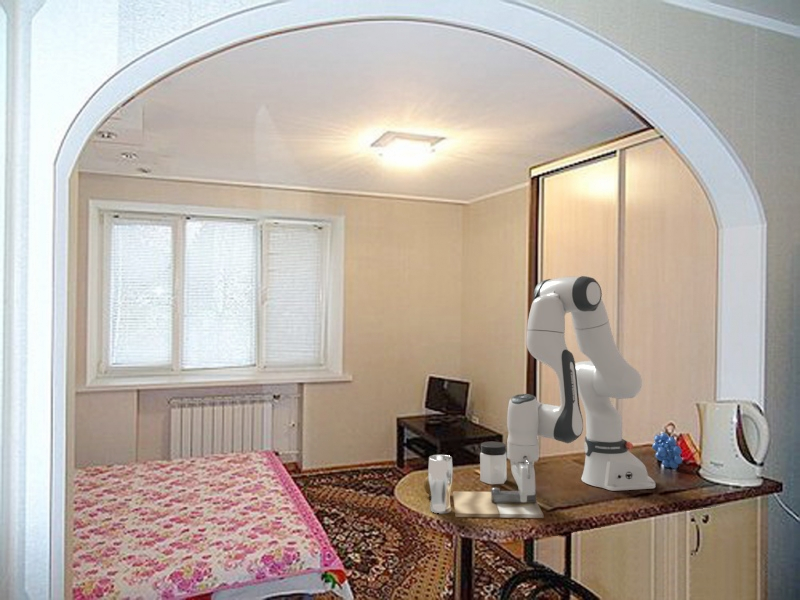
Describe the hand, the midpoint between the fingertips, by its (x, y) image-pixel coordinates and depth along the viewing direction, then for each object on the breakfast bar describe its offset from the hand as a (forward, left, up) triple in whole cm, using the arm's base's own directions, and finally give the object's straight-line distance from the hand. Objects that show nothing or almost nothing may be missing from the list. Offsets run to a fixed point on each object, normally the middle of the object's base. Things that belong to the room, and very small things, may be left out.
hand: (522, 500), depth 165 cm
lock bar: (+2, -3, -1) cm, 4 cm away
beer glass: (+23, +1, -3) cm, 24 cm away
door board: (+7, -3, -3) cm, 8 cm away
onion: (+24, -11, -3) cm, 27 cm away
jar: (+5, -26, -3) cm, 26 cm away
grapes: (-57, -42, -3) cm, 70 cm away
